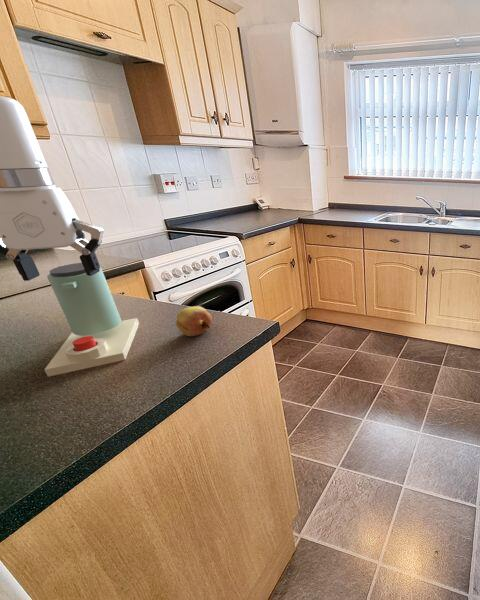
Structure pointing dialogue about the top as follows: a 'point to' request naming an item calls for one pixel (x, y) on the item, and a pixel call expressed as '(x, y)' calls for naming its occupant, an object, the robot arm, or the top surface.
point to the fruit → (193, 320)
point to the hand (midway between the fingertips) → (63, 275)
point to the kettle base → (94, 349)
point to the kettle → (84, 299)
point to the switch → (84, 343)
